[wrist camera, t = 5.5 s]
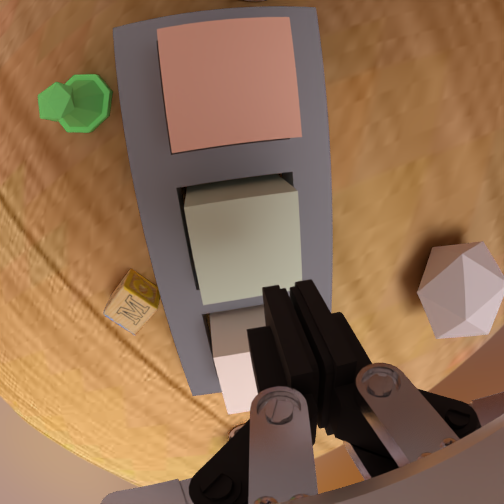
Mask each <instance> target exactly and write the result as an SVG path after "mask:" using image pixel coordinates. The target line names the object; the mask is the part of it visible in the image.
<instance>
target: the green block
mask: <svg viewBox="0 0 504 504" xmlns="http://www.w3.org/2000/svg"><path fill="white" fill-rule="evenodd" d="M184 211H185V217H186V222H187V227H188V233H189V238H190V243H191V248H192V254H193V259H194V264H195V269H196V273H197V278H198V283H199V288H200V292H201V297H202V302H203V305H208V304H214V303H220V302H227V301H233V300H239V299H245V298H251V297H257V296H262V295H263V294H262V287H268V286H274V285H279V287H280V289H282V288H286V290H287V291H290V287H293V286H295V282H297V281H302V261H301V238H300V218H299V200H298V191H297V190H296V189H295V188H294V187H293V186H291V185H290V184H289V183H288V182H286V181H285V180H284V179H283V178H282V177H280V176H279V175H278V174H270V175H261V176H254V177H246V178H239V179H232V180H225V181H218V182H211V183H205V184H199V185H192V186H187V192H186V198H185V204H184Z"/></svg>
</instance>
